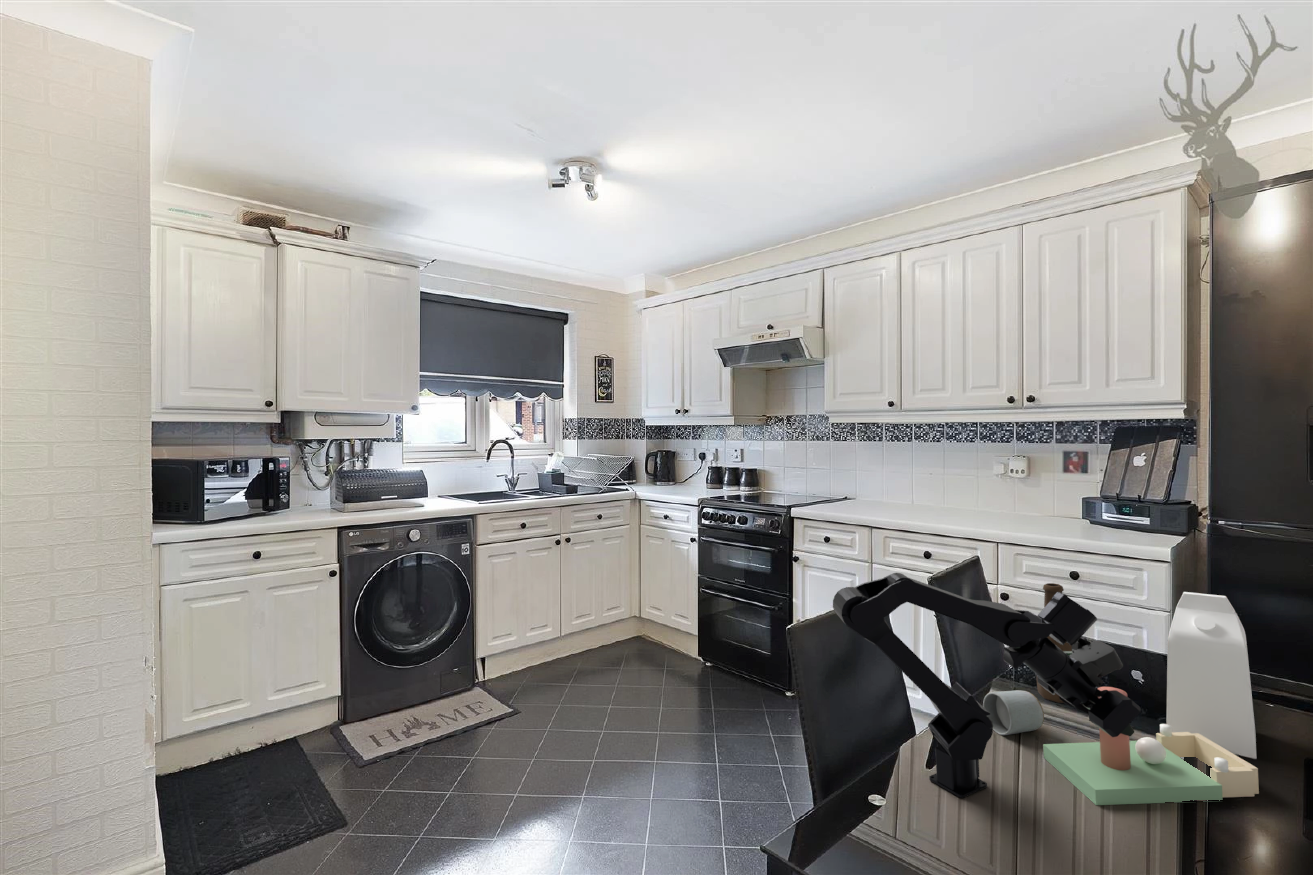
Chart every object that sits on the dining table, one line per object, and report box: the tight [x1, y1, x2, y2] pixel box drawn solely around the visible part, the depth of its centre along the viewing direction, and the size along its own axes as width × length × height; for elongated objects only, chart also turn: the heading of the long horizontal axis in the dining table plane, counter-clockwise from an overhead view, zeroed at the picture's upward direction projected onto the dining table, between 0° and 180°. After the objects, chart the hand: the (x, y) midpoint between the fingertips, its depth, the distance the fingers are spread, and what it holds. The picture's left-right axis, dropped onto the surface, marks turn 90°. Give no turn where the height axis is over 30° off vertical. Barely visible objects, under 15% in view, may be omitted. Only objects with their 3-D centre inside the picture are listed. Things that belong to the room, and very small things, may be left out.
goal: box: [1155, 723, 1260, 798], centre depth 103 cm, size 7×13×6 cm, turn 178°
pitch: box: [1042, 740, 1224, 806], centre depth 104 cm, size 19×14×2 cm
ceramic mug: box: [982, 689, 1045, 736], centre depth 123 cm, size 11×8×8 cm
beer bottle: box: [1036, 582, 1073, 704], centre depth 134 cm, size 8×8×24 cm
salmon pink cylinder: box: [1097, 686, 1131, 770], centre depth 104 cm, size 4×4×12 cm
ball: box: [1135, 736, 1166, 764], centre depth 104 cm, size 4×4×4 cm
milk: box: [1165, 591, 1257, 760], centre depth 115 cm, size 12×12×26 cm
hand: (1122, 727), depth 104 cm, fingers closed on salmon pink cylinder, 4 cm apart
